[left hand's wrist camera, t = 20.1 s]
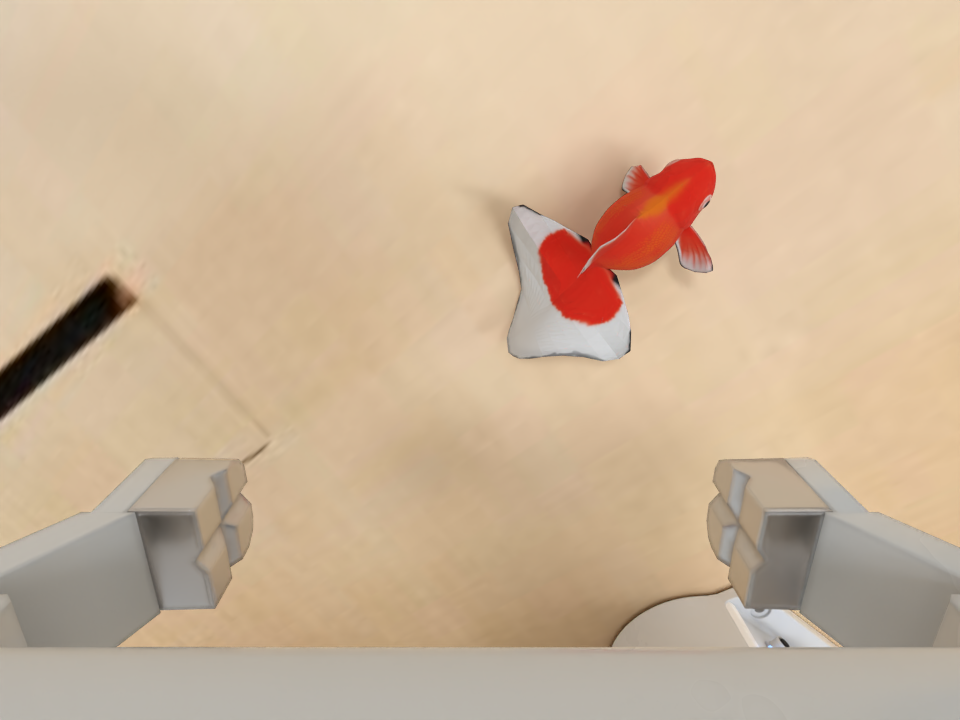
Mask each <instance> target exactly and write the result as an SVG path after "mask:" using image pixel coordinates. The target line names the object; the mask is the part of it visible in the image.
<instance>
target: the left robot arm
mask: <svg viewBox="0 0 960 720" xmlns="http://www.w3.org/2000/svg"><path fill="white" fill-rule="evenodd" d="M246 483H247V477H246V473H245V468H244V464H243V463H242V462H241V461H240V460H239V459H211V458H178V457H174V458H150V459H145V460H144V461H143V462H142V463H141V464H140V465H139V466H138V467H137V468H136V469H135V470H134V471H133V472H132V473H131V474H130V475H129V476H128V477H127V478H126V479H125V480H124V481H123V482H122V483H121V484H120V485H118V486H117V487H116V488H115V489H114V490H113V491H112V492H111V493H110V494H109V495H108V496H107V497H106V498H105V499H104V500H103V501H102V502H101V503H100V504H99V505H98V506H97V507H96V508H95V509H94V510H93V511H92V512H81V513H79V514H76V515H74V516H72V517H69V518H67V519H65V520H62V521H60V522H58V523H56V524H53V525H51V526H49V527H46V528H44V529H42V530H40V531H37V532H35V533H33V534H30V535H28V536H26V537H23V538H21V539H19V540H17V541H14V542H12V543H10V544H7V545H5V546H3V547H1V548H0V720H960V548H959V547H957V546H955V545H952V544H950V543H948V542H946V541H943V540H941V539H939V538H936V537H934V536H932V535H930V534H927V533H925V532H923V531H920V530H918V529H916V528H913V527H911V526H909V525H907V524H904V523H902V522H900V521H897V520H895V519H893V518H891V517H888V516H886V515H884V514H881V513H879V512H868V511H867V510H866V509H865V508H864V507H863V506H862V505H861V504H860V503H859V502H858V501H857V500H856V499H855V498H854V497H853V496H852V495H851V494H850V493H849V492H848V491H847V490H846V489H845V488H844V487H843V486H842V485H841V484H840V483H839V482H838V481H837V480H836V479H834V478H833V477H832V476H831V475H830V474H829V473H828V472H827V471H826V470H825V469H824V468H823V467H822V466H821V465H820V464H819V463H818V462H817V461H816V460H814V459H811V458H808V457H801V458H771V459H730V460H719V461H718V463H717V466H716V468H715V471H714V477H713V483H714V484H715V486H716V488H717V489H718V491H719V492H720V493H719V494H718V495H717V496H716V497H715V498H714V499H713V500H712V501H711V502H710V503H709V507H708V514H707V530H708V538H709V541H710V544H711V548H712V550H713V552H714V554H715V555H716V557H717V559H718V560H720V561H721V562H723V563H724V564H726V565H727V566H729V567H730V569H729V575H728V579H729V581H730V583H731V585H732V586H733V588H730V589H728V590H725V591H723V592H720V593H718V594H714V595H707V596H693V597H685V598H679V599H675V600H671V601H668V602H665V603H662V604H659V605H657V606H655V607H652V608H650V609H648V610H647V611H645V612H643V613H642V614H640V615H639V616H637V617H636V618H635V619H633V620H632V621H631V622H630V623H629V624H628V625H627V626H625V628H624V629H623V630H622V631H621V632H620V633H619V635H618V636H617V638H616V639H615V641H614V643H613V645H612V647H117V646H118V645H120V644H121V643H122V642H124V641H125V640H126V639H127V638H129V637H130V636H131V635H133V634H134V633H135V632H136V631H138V630H139V629H140V628H142V627H143V626H144V625H145V624H147V623H148V622H149V621H151V620H152V619H153V618H154V617H156V616H157V615H158V614H160V610H182V609H215V608H216V606H217V604H218V603H219V601H220V599H221V597H222V595H223V594H224V592H225V590H226V588H227V586H228V585H229V583H230V581H231V579H232V575H231V569H230V567H231V566H233V565H234V564H236V563H237V562H239V561H240V560H242V559H243V557H244V555H245V554H246V552H247V550H248V548H249V545H250V540H251V536H252V532H253V513H252V506H251V503H250V502H249V501H248V500H247V499H246V498H245V497H244V496H243V495H242V494H241V493H240V492H241V491H242V489H243V488H244V486H245V484H246ZM790 610H800V612H799V613H801V614H802V615H803V616H805V617H806V618H807V619H808V620H810V621H811V622H812V623H814V624H815V625H816V626H817V627H819V628H820V629H821V630H823V631H824V632H825V633H826V634H828V635H829V636H830V637H832V638H833V639H834V640H835V641H837V642H838V643H839V644H841V645H842V646H843V647H837V646H836V645H835V644H834V643H832V642H831V641H830V640H828V639H827V638H826V637H824V636H823V635H822V634H820V633H819V632H818V631H817V630H815V629H814V628H813V627H811V626H810V625H809V624H807V623H806V622H805V621H803V620H802V619H801V618H800V617H798V616H797V615H796V614H794V613H793V612H792V611H790Z"/></svg>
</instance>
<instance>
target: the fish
mask: <svg viewBox="0 0 960 720" xmlns="http://www.w3.org/2000/svg"><path fill="white" fill-rule="evenodd" d="M715 183H716V173H715V169H714V165H713V163H712V162H711V161H708V160H706V159H703V158H692V159H678V160H674V161H672V162H670V163H668V164H667V165H666V167H665V168H664V169H663V171H661V172H660V173H659V174H657V175H655V176H652V177H651V178H650V177H649V176H648V174H647V173H646V171H645V170H644V169H643V167H642V166H641V165H639V166H635V167H633V166H632V167H631V168H630V170H629V171H628V172H627V174H626V175H625V178H624V181H623V184H622V190H623V191H625V192H626V193H627V194H625V195H624V196H622V197H621V198H619V199H618V200H617V201H616V202H615V203H614V204H612V205H611V206H610V207H609V208H608V209H607V211H606V212H605V213H604V215H603V216H602V217H601V219H600V220H599V222H598V224H597V225H596V228H595V230H594V234H593V239H592V245H591V244H590V242H589V240H588V239H586V238H584V237H583V236H581V235H579V234H577V233H575V232H573V231H572V230H570V229H568V228H566V227H564V226H563V225H561V224H559V223H557V222H556V221H554V220H552V219H550V218H547V217H545V216H543V215H541V214H539V213H537V212H535V211H534V210H532V209H530V208H528V207H526V206H525V205H520V206H516V207H513V208H512V211H511V215H510V219H509V222H508V225H509V230H510V235H511V239H512V244H513V249H514V253H515V257H516V261H517V265H518V269H519V275H520V282H521V289H522V290H521V293H520V296H519V300H518V303H517V307H516V310H515V314H514V318H513V320H512V323H511V326H510V329H509V333H508V336H507V343H508V352H509V353H510V354H511V355H512V356H514V357H517V358H519V359H531V358H538V357H546V356H577V357H586V358H591V359H596V360H600V361H607V360H614V359H619V358H621V357H622V356H624V355H625V354H627V353H628V352H630V347H631V329H630V322H629V316H628V312H627V308H626V305H625V301H624V298H623V295H622V291H621V288H620V285H619V282H618V278H617V275H616V274H615V273H613V272H612V271H611V270H610V269H613V270H633V269H638V268H641V267H644V266H646V265H649V264H651V263H653V262H654V261H656V260H657V259H659V258H660V257H661V256H662V255H663V254H664V253H665V252H667V251H668V250H669V249H670V248H671V247H672V246H673V245H674V244H676V247H677V250H678V256H679V261H680V264H681V266H682V267H684V268H686V269H688V270H691V271H694V272H701V273H707V272H711V271H713V265H712V261H711V258H710V256H709V254H708V252H707V249H706V246H705V244H704V243H703V241H702V240H701V238H700V237H699V235H698V234H697V232H696V231H695V230H694V229H693V227H692V226H691V224H692V223H693V221H694V219H695V218H696V217H697V215H698V214H699V213H700V211H701V210H702V209H703V208H705V207H706V206H707V205H708V203H709V202H710V199H711V197H712V195H713V193H714V189H715Z"/></svg>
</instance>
